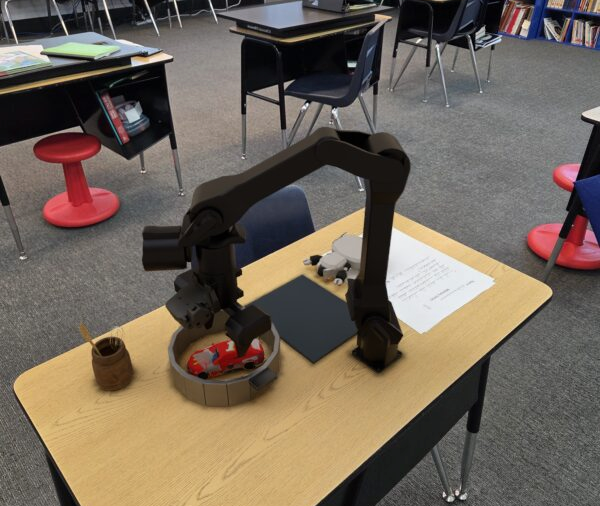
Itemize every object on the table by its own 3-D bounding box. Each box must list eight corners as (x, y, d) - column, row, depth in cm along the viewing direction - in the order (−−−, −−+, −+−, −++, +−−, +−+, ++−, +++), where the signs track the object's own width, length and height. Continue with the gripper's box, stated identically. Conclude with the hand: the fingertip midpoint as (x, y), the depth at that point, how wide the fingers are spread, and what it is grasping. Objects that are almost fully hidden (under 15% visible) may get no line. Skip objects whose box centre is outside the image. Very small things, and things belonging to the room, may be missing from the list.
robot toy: (339, 298, 109) (389, 265, 117) (339, 280, 107) (389, 248, 114) (299, 271, 117) (348, 242, 125) (298, 254, 114) (348, 226, 122)
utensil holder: (132, 389, 88) (119, 333, 81) (92, 394, 87) (75, 338, 81) (135, 363, 93) (123, 308, 86) (97, 367, 92) (82, 312, 86)
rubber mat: (374, 321, 102) (374, 320, 102) (313, 363, 93) (313, 362, 92) (302, 275, 114) (302, 274, 114) (242, 308, 105) (241, 307, 105)
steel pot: (310, 373, 91) (310, 351, 88) (221, 435, 80) (218, 412, 78) (230, 310, 105) (228, 289, 102) (145, 355, 94) (141, 334, 92)
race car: (188, 384, 89) (186, 366, 87) (185, 361, 93) (182, 344, 91) (267, 368, 92) (266, 350, 90) (260, 346, 96) (259, 329, 94)
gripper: (138, 259, 83) (152, 336, 91) (207, 318, 71) (217, 400, 79) (199, 233, 89) (208, 307, 97) (272, 283, 78) (275, 362, 86)
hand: (224, 342), depth 90 cm, fingers open, 9 cm apart
